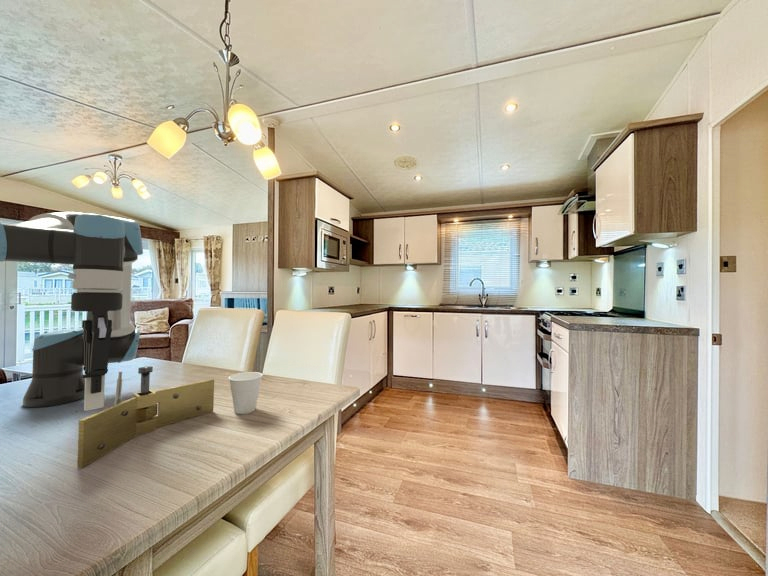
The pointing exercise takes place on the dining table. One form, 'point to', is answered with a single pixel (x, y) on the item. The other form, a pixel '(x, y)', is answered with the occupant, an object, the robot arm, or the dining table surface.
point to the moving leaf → (109, 429)
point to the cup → (245, 391)
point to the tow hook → (118, 390)
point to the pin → (145, 379)
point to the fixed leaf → (176, 404)
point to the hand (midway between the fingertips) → (93, 407)
